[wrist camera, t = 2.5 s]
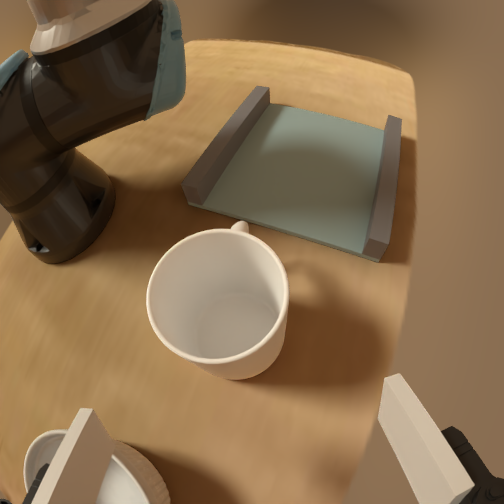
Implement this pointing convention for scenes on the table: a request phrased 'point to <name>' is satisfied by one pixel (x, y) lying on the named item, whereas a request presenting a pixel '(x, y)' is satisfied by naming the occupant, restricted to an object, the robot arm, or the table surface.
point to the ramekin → (117, 475)
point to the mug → (221, 302)
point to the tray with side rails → (302, 175)
